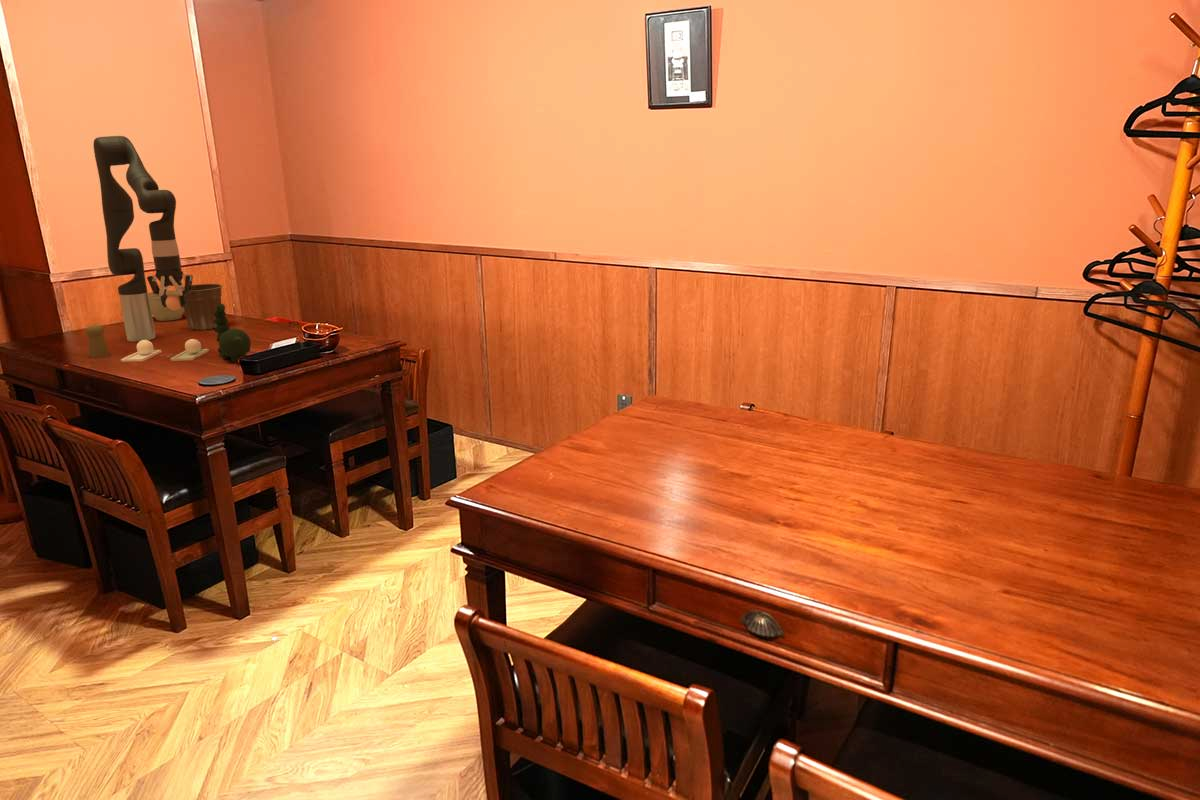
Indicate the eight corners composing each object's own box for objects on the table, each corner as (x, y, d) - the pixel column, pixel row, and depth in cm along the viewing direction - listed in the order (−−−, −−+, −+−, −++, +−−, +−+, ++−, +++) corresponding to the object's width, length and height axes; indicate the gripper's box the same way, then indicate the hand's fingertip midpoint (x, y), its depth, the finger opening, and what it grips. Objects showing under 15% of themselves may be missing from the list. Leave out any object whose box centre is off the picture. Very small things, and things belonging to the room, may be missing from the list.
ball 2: (171, 309, 267) (168, 294, 265) (186, 308, 267) (184, 293, 265) (163, 311, 262) (161, 296, 260) (179, 311, 262) (176, 296, 260)
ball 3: (189, 351, 278) (187, 337, 276) (204, 351, 278) (202, 337, 276) (183, 355, 273) (180, 340, 271) (198, 355, 273) (196, 340, 272)
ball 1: (142, 352, 277) (139, 338, 276) (157, 352, 277) (154, 338, 276) (135, 356, 272) (132, 341, 271) (150, 356, 272) (147, 341, 271)
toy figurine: (211, 359, 276) (228, 367, 256) (201, 304, 272) (218, 308, 252) (240, 355, 281) (259, 362, 261) (231, 301, 277) (250, 304, 257)
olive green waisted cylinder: (114, 355, 276) (108, 323, 273) (102, 359, 270) (95, 327, 267) (97, 355, 277) (91, 323, 273) (85, 359, 271) (78, 327, 268)
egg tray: (141, 353, 278) (140, 350, 278) (161, 353, 278) (161, 349, 278) (121, 363, 266) (120, 359, 265) (143, 362, 266) (142, 359, 266)
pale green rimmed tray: (188, 352, 279) (187, 349, 278) (209, 352, 279) (208, 348, 279) (170, 362, 266) (170, 358, 266) (192, 361, 266) (191, 358, 266)
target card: (163, 355, 276) (162, 352, 276) (180, 355, 276) (180, 351, 276) (151, 361, 268) (150, 357, 268) (169, 361, 269) (169, 357, 268)
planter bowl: (138, 322, 331) (133, 296, 328) (164, 315, 346) (160, 289, 343) (173, 323, 328) (169, 296, 325) (198, 315, 343) (194, 290, 340)
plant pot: (185, 333, 309) (178, 291, 304) (180, 326, 322) (173, 286, 317) (231, 328, 318) (225, 287, 313) (224, 321, 331) (218, 282, 326)
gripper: (193, 252, 263) (202, 304, 268) (149, 253, 263) (158, 305, 267) (183, 255, 256) (191, 308, 260) (137, 256, 255) (146, 309, 260)
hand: (174, 306), depth 264 cm, fingers closed on ball 2, 5 cm apart
